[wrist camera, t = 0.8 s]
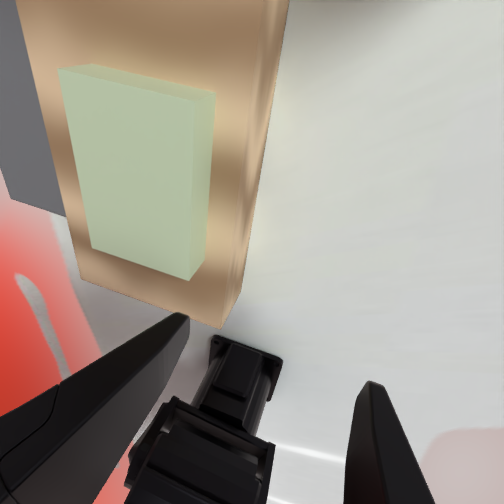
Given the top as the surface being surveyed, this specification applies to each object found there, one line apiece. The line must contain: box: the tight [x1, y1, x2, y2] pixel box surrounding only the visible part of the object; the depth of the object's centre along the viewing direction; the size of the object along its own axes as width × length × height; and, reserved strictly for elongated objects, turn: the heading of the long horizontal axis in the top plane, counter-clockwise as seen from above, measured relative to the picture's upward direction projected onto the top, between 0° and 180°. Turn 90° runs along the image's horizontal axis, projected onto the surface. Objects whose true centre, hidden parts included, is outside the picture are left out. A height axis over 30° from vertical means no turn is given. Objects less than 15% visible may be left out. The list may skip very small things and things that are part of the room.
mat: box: [0, 0, 66, 217], centre depth 22 cm, size 14×9×1 cm, turn 171°
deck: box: [15, 0, 289, 330], centre depth 19 cm, size 20×11×4 cm, turn 172°
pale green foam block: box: [57, 64, 216, 281], centre depth 16 cm, size 9×6×2 cm, turn 171°
